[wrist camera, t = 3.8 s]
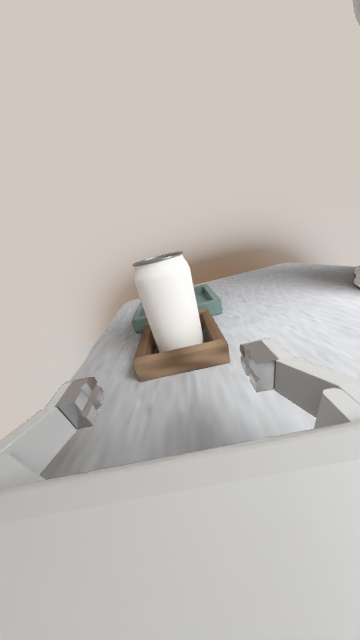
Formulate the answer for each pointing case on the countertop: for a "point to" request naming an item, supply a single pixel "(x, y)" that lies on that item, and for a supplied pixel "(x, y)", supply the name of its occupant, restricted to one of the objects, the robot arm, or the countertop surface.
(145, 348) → the collar
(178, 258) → the can
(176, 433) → the countertop surface
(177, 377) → the countertop surface
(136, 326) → the tray
